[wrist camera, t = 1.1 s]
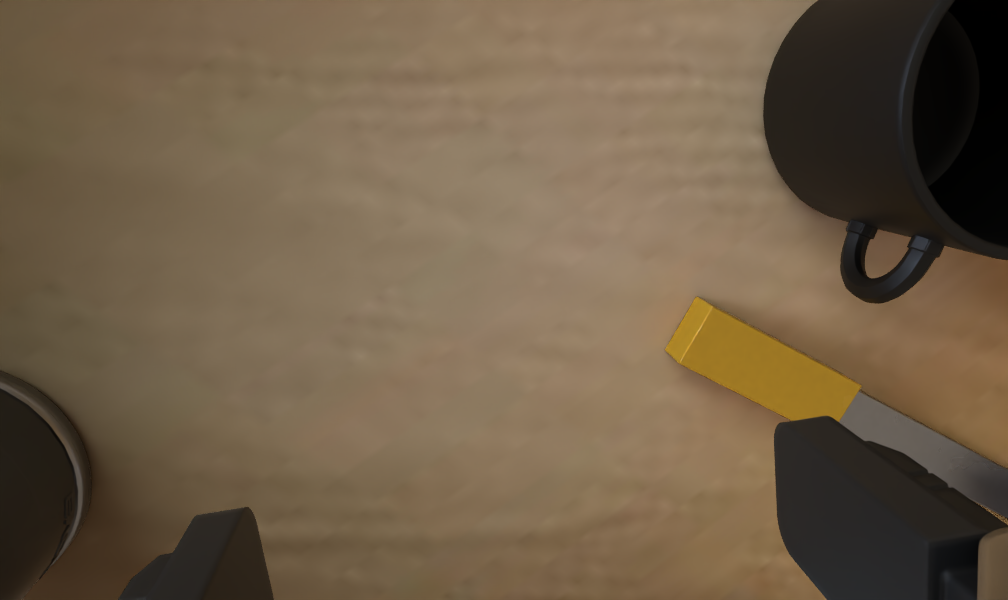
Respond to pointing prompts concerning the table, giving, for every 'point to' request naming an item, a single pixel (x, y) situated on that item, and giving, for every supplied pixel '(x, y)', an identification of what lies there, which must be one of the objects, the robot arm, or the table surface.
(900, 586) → the robot arm
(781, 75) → the mug
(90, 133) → the table surface
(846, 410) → the letter opener
